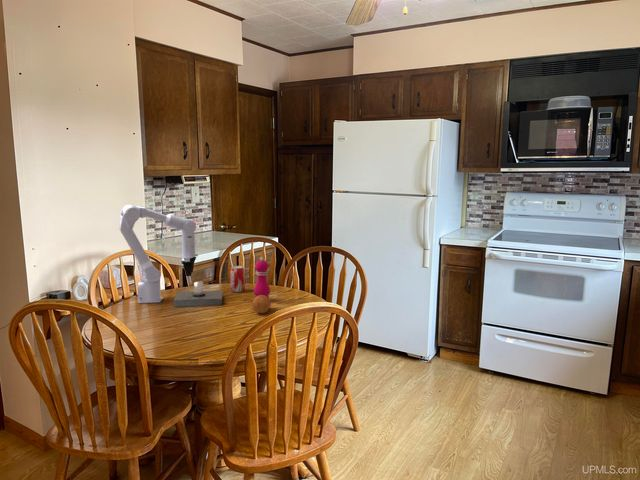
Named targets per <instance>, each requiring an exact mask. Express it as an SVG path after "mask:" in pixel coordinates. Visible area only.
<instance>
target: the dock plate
mask: <svg viewBox="0 0 640 480" xmlns="http://www.w3.org/2000/svg"><path fill="white" fill-rule="evenodd" d="M223 298H224V297H223V290H203V297H194V291H178V292H177V294H176V295H175V297H174V299H173V305H174V306H173V307H174V308H184V307H205V306H206V307H209V306H210V307H211V306H213V307H214V306H222V304H223Z"/></svg>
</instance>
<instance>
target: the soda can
mask: <svg viewBox="0 0 640 480" xmlns="http://www.w3.org/2000/svg"><path fill="white" fill-rule="evenodd" d="M229 272H230V274H229V277H230V279H229V284H230V290H231V291H232V292H233V293H242V292H244V291H245V289H246V272H245V269H244V266H243V265H234V266H233V265H232V266H231V268H230V271H229Z"/></svg>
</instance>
